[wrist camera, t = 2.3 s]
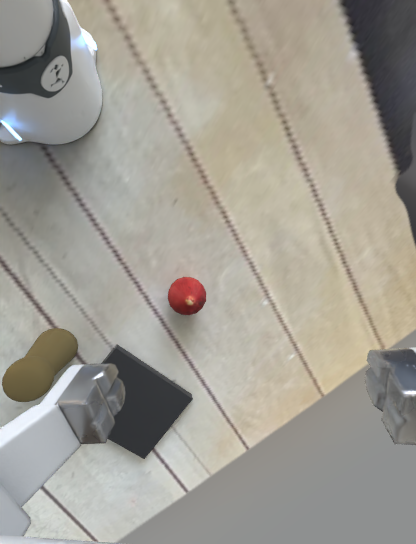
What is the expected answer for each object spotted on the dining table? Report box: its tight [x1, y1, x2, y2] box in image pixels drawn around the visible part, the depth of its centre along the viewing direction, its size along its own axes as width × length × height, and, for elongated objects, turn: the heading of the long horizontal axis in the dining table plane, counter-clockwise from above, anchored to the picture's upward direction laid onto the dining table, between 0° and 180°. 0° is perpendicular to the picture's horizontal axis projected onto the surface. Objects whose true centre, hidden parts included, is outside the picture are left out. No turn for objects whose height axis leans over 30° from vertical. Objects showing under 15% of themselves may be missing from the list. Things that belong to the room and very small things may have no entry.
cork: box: [2, 328, 78, 402], centre depth 35 cm, size 6×6×11 cm
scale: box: [101, 345, 193, 459], centre depth 42 cm, size 16×13×3 cm
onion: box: [168, 277, 206, 315], centre depth 39 cm, size 6×6×8 cm
